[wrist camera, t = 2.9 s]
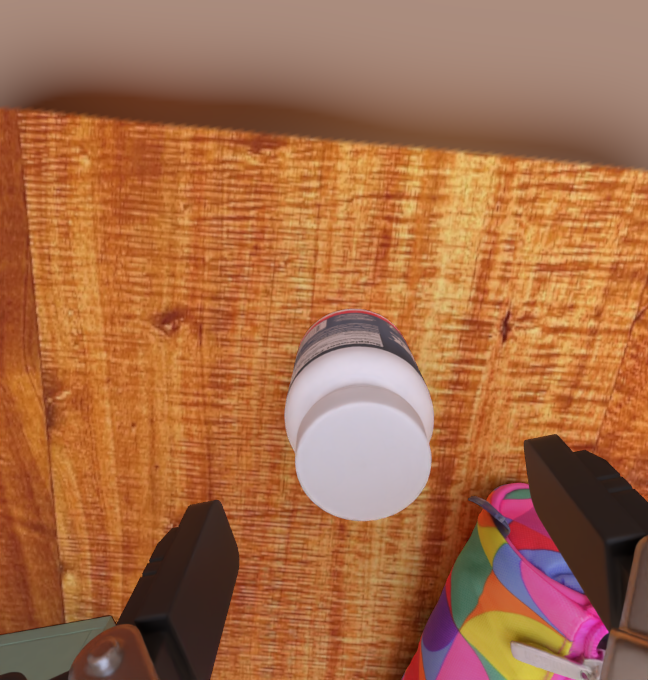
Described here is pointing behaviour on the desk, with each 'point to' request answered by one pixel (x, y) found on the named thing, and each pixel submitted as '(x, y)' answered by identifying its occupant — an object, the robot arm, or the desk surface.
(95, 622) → the bin
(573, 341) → the desk surface
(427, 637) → the pencil case
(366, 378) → the pill bottle
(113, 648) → the robot arm
